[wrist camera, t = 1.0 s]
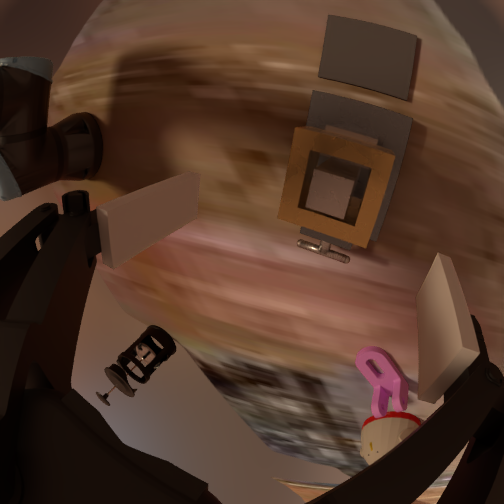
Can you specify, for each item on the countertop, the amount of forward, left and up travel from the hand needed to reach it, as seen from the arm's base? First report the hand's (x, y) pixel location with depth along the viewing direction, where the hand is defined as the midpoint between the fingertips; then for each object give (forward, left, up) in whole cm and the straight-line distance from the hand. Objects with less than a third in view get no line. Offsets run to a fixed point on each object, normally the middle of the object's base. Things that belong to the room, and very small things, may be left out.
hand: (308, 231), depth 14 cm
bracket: (+17, -31, -24) cm, 42 cm away
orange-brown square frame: (0, 0, -14) cm, 14 cm away
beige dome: (+29, -48, -24) cm, 61 cm away
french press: (-31, -51, -24) cm, 64 cm away
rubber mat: (-1, +15, -23) cm, 28 cm away
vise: (0, -1, -23) cm, 23 cm away
